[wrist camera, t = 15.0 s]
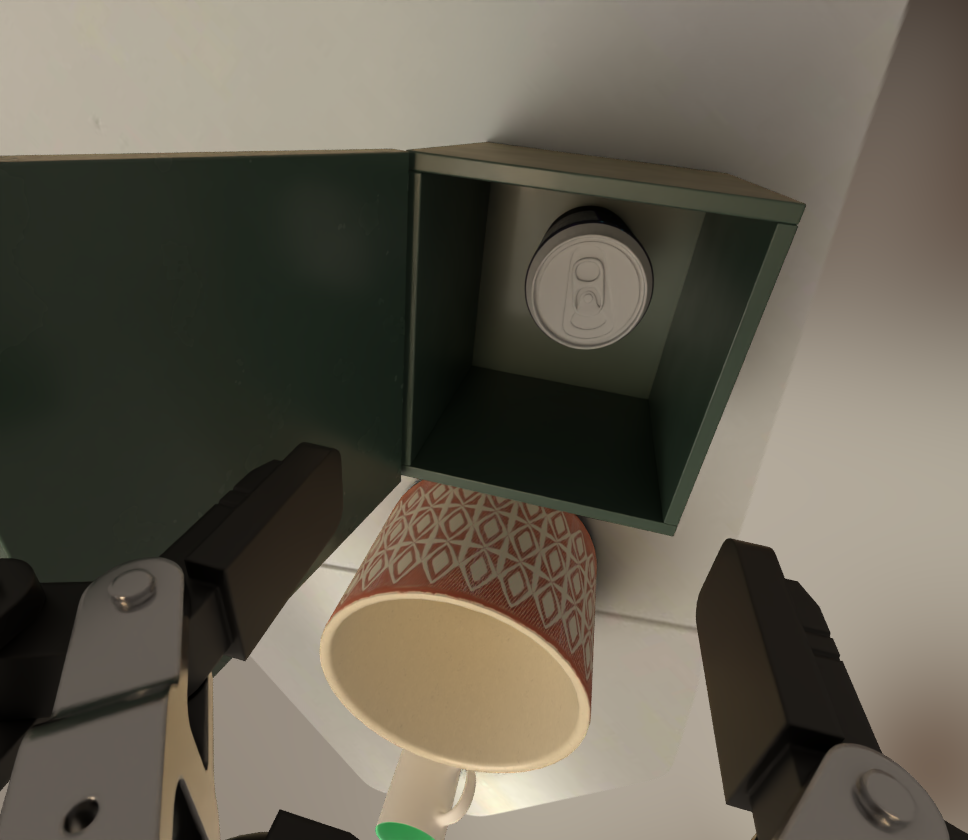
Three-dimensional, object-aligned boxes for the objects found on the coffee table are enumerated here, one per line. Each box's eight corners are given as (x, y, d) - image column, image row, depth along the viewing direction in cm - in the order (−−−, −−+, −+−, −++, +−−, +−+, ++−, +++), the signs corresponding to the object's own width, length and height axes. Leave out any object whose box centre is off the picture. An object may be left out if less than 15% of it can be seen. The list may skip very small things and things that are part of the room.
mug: (459, 718, 63) (434, 814, 54) (499, 755, 65) (481, 853, 56) (394, 736, 68) (361, 825, 60) (432, 769, 71) (406, 861, 62)
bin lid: (-197, 168, 6) (-230, 159, 7) (122, 774, 14) (102, 760, 15) (410, 151, 19) (391, 148, 19) (401, 481, 27) (388, 477, 27)
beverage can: (542, 300, 34) (525, 360, 23) (538, 209, 32) (517, 229, 21) (631, 295, 33) (654, 355, 22) (633, 200, 30) (661, 217, 20)
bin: (728, 173, 29) (807, 203, 17) (654, 405, 37) (673, 537, 25) (485, 141, 31) (404, 149, 19) (464, 368, 39) (397, 474, 27)
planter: (399, 594, 54) (333, 735, 41) (389, 442, 44) (301, 566, 32) (581, 633, 51) (570, 799, 38) (614, 478, 41) (614, 632, 28)
